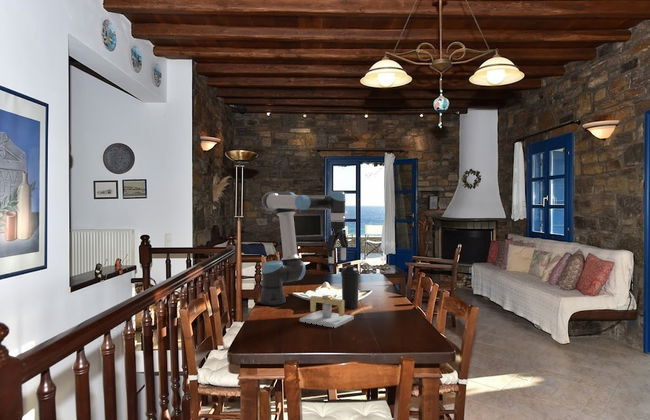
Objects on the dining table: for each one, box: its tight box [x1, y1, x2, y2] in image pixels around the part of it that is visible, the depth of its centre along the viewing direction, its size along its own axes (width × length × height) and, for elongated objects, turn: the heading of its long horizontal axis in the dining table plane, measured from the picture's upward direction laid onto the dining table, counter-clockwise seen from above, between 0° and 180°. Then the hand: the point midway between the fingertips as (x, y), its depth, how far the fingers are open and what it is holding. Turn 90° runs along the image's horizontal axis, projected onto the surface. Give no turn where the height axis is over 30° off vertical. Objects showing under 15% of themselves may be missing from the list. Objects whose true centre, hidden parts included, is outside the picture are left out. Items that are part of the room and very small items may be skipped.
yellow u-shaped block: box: [309, 294, 345, 317], centre depth 216 cm, size 18×5×8 cm, turn 58°
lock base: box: [299, 303, 355, 329], centre depth 217 cm, size 20×18×8 cm
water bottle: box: [340, 264, 360, 310], centre depth 243 cm, size 10×10×23 cm
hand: (337, 261), depth 231 cm, fingers open, 13 cm apart
